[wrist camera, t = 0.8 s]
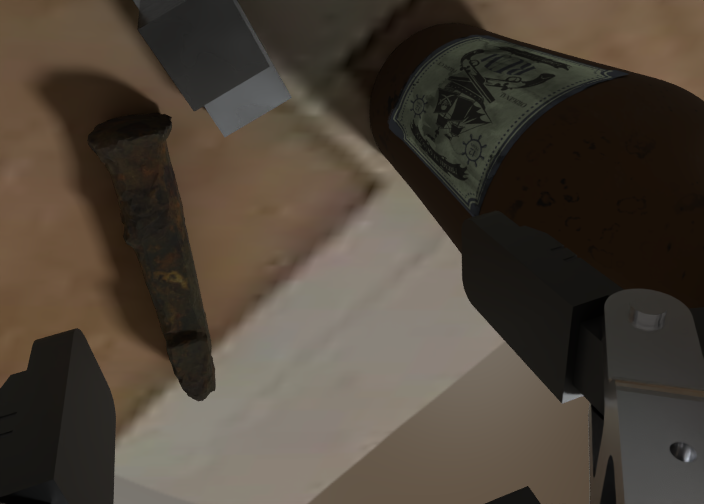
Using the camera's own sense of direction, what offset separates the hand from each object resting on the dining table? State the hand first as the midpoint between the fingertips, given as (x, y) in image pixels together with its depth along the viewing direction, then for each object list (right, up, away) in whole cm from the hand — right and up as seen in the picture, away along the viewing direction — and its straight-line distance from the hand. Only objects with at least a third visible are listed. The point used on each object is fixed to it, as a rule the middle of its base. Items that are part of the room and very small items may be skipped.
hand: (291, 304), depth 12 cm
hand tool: (-10, +1, +24) cm, 26 cm away
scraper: (-7, +14, +16) cm, 22 cm away
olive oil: (+7, +11, +23) cm, 26 cm away
